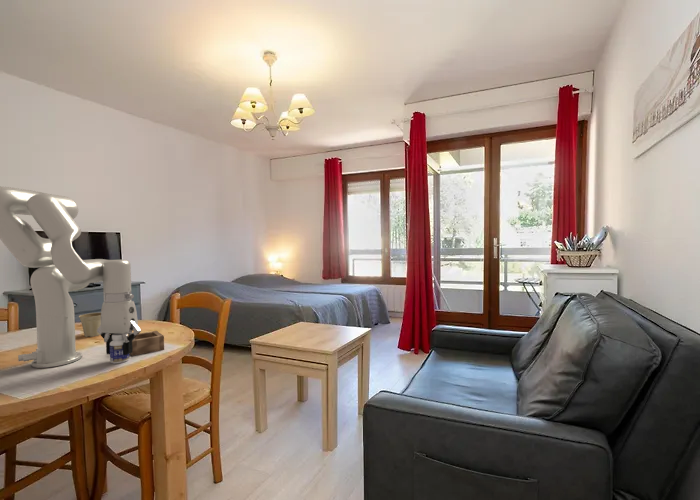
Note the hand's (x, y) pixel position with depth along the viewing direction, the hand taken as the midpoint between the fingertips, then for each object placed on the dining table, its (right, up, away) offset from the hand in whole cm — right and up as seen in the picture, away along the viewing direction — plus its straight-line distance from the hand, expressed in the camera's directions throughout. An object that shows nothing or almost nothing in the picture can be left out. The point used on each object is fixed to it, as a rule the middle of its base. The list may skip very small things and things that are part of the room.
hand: (119, 352), depth 115 cm
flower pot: (-32, -2, +33) cm, 46 cm away
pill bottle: (0, -3, 0) cm, 3 cm away
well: (+1, -2, +12) cm, 12 cm away
